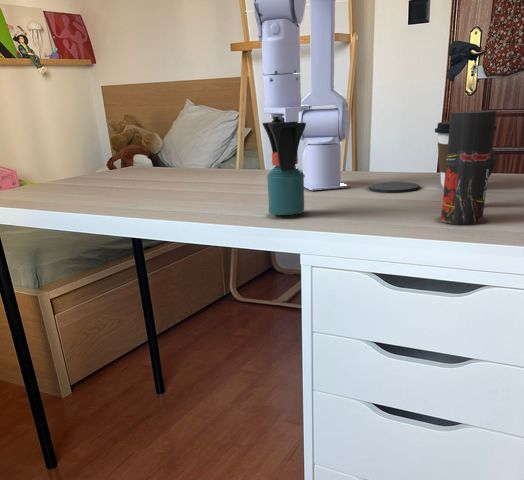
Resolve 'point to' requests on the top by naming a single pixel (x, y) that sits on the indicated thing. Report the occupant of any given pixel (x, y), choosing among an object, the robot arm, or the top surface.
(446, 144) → the coffee cup
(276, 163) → the cap
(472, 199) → the deodorant
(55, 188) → the top surface
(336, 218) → the top surface
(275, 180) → the bottle
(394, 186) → the coaster
